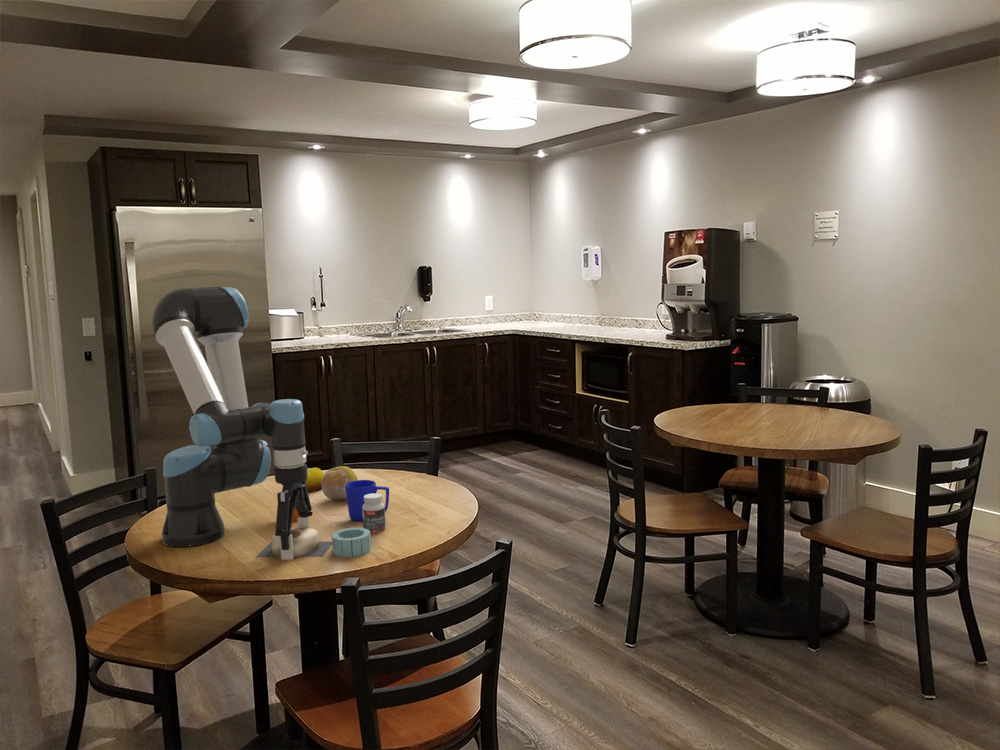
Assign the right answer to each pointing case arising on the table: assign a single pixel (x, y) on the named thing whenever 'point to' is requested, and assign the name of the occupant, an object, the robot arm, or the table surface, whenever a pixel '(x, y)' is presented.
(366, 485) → the mug
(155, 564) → the table surface
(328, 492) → the fruit
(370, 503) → the pill bottle
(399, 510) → the table surface
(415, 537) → the table surface
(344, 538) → the bowl
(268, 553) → the mat
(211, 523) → the robot arm
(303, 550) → the lid
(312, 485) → the fruit
